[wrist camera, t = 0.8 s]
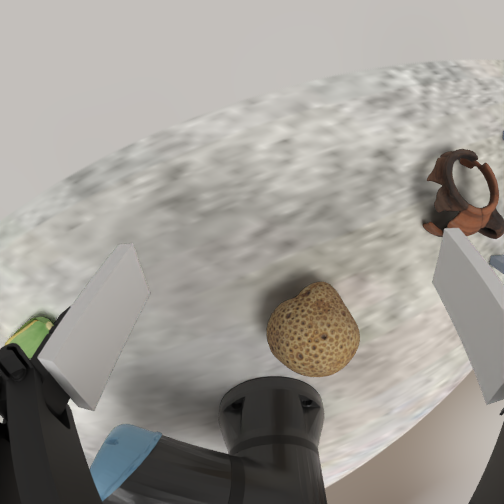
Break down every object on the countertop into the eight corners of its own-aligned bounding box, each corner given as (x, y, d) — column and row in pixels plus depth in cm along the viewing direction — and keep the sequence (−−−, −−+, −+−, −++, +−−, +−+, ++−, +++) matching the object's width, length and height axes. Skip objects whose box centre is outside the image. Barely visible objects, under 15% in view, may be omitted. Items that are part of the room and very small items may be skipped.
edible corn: (58, 351, 33) (32, 331, 31) (6, 377, 38) (-13, 362, 35) (68, 323, 38) (45, 303, 35) (14, 355, 42) (-4, 340, 39)
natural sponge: (278, 347, 37) (284, 407, 28) (254, 287, 34) (254, 342, 25) (349, 325, 36) (373, 380, 26) (333, 261, 33) (361, 308, 24)
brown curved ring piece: (398, 223, 32) (432, 198, 24) (417, 157, 33) (446, 124, 25) (475, 267, 30) (517, 255, 22) (487, 202, 32) (525, 180, 24)
